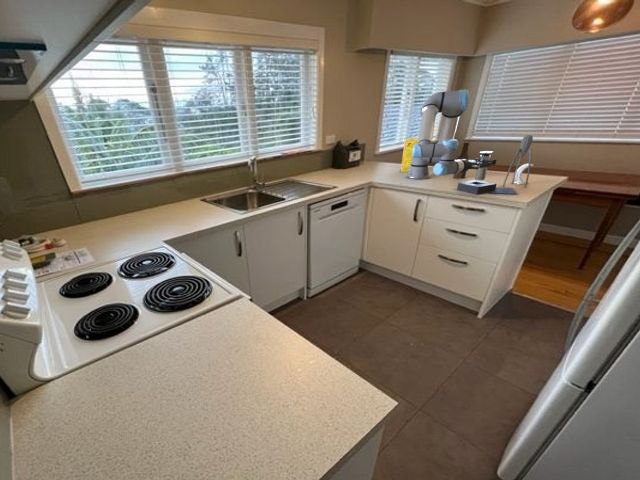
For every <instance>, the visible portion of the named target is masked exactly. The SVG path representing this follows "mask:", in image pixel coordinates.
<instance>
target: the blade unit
mask: <svg viewBox="0 0 640 480" xmlns="http://www.w3.org/2000/svg"><path fill="white" fill-rule="evenodd" d="M479 153H480V157H479V159H478V160H479V162H486V161H490V159H491V153H494V151H488V150H485V151H479ZM488 168H489V167H484V168H479V169H476V173H475V177H474V180H480V181H485V179H486V176H487V171H488Z"/></svg>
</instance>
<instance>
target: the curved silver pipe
mask: <svg viewBox="0 0 640 480" xmlns="http://www.w3.org/2000/svg"><path fill="white" fill-rule="evenodd" d="M528 166H529V162H528V163H524V164H522V165H520V166H518V169H517V172H516V175H515V178H514V182H513V184H517V185H525V183H526V180H525V181H524V180H522V174H523V172H524V171H525V170H527V169H528ZM530 167H534V164H532V163H531V166H530ZM515 180H516V181H515ZM528 183H529V182H527V185H528Z"/></svg>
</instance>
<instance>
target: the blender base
mask: <svg viewBox="0 0 640 480" xmlns="http://www.w3.org/2000/svg"><path fill="white" fill-rule="evenodd" d="M497 185H498V184H497V183H494V182H490V181H485V180H475V179H473V180H472V179H471V180H466V181H460V182H458V183H457V188H456V190H457V191H460V192H464V193H469V194H472V195H473V194H474V195H482V194H487V193H490V191H494V190H495V189H496V187H497Z"/></svg>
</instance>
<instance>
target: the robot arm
mask: <svg viewBox="0 0 640 480" xmlns="http://www.w3.org/2000/svg"><path fill="white" fill-rule="evenodd" d="M469 96H470V91H469V89H458V90H447V91H446V90H445V91H438V92H436V93H434V94H432V95H430V96H429V97H428V98H427V99H426V100H425V101H424V103H423V104H422V106H421V109H420V117H421V119H420V125H419V133H418V137H417V138H418V144H416V145H414V147H413V153H412V161H411V167H410V169H409V171H408V172H406V173H407V174H406V178H407V179H411V180H426V179H429V178H430V171H429V164H434V166H433V168H432V172H433V174H434V175H435V176H437V177H442V176H448V175H453V176H454V174H455V173H462V172H466V173H467V172H468V171H469V170H471V169H476V170H477V169H479V168H484V167H488V168H489V167H491V166H495V165H496V164H497V159H491V160H489V161H486V162H479V160H480V159H479V158H475V159H469V160H467V159H461V160H457V159H456V155H457V151H458V147H459V141H458V139H455V135H456V132H457V127H458V123H459V120H460V117H461V116H462V115H463V114H464V112H466V111H468V105H469ZM438 113H439V114H440V113H441V116H442V117H443V119H442V124H441V127H440V133H439V137H438V142H436V143H433V138H434V131H435V125H436V124H435V123H436V117H437V115H438Z"/></svg>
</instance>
